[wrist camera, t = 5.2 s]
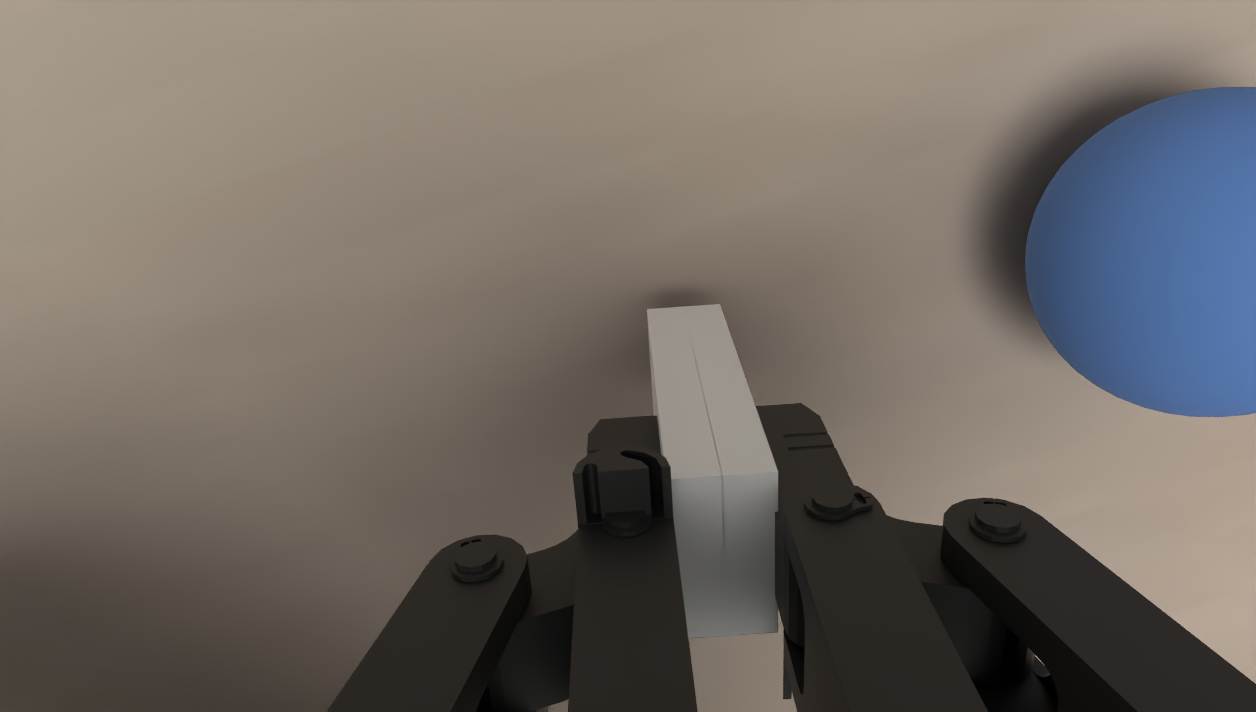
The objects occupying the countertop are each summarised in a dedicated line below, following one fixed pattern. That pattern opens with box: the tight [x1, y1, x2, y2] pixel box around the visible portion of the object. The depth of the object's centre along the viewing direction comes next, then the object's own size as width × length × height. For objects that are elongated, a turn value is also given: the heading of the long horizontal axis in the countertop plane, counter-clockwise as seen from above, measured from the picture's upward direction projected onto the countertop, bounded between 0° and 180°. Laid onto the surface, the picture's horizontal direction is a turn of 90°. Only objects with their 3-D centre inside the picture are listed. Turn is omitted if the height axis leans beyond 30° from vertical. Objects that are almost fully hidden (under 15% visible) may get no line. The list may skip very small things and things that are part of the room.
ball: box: [1025, 87, 1256, 417], centre depth 16 cm, size 6×6×6 cm
